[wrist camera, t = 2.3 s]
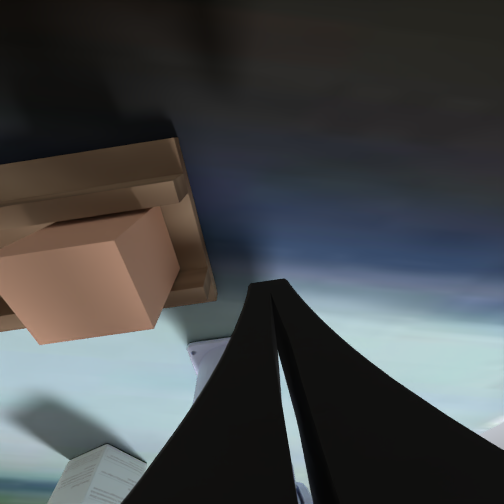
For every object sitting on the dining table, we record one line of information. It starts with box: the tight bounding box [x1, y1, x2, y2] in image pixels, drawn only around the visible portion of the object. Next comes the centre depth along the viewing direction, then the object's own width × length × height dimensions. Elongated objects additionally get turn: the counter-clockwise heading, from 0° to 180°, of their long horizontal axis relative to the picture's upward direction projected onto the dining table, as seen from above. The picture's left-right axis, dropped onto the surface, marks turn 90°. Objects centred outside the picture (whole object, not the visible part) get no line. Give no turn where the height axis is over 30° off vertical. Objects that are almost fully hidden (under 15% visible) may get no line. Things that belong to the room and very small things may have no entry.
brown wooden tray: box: [0, 137, 218, 332], centre depth 15 cm, size 12×22×5 cm, turn 98°
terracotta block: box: [0, 206, 180, 345], centre depth 13 cm, size 5×6×6 cm
